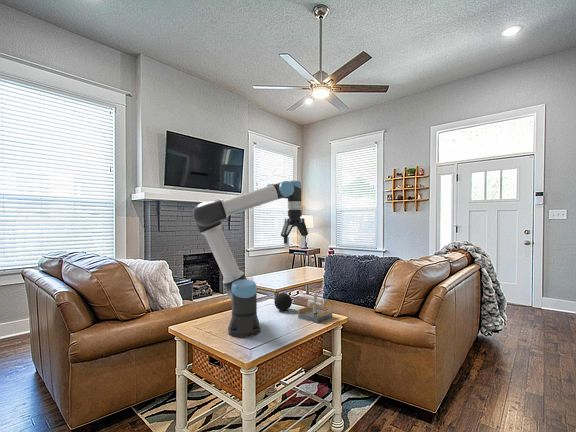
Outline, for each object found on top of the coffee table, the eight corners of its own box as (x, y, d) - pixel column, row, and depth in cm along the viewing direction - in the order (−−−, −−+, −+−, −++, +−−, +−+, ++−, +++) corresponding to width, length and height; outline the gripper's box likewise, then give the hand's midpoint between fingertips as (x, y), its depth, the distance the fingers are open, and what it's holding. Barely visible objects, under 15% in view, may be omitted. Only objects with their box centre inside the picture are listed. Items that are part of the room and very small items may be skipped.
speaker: (282, 314, 175) (281, 296, 175) (271, 310, 183) (270, 293, 183) (295, 310, 182) (295, 293, 182) (284, 307, 189) (284, 290, 189)
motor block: (318, 323, 160) (317, 314, 160) (298, 318, 169) (298, 309, 169) (332, 317, 170) (332, 308, 170) (312, 312, 178) (312, 304, 178)
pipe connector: (328, 312, 168) (328, 293, 168) (314, 316, 162) (314, 296, 162) (315, 308, 176) (315, 290, 176) (302, 311, 170) (302, 293, 170)
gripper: (284, 209, 160) (284, 251, 160) (314, 209, 178) (314, 247, 178) (273, 209, 165) (274, 250, 165) (303, 209, 183) (304, 246, 183)
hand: (295, 248), depth 172 cm, fingers open, 13 cm apart
